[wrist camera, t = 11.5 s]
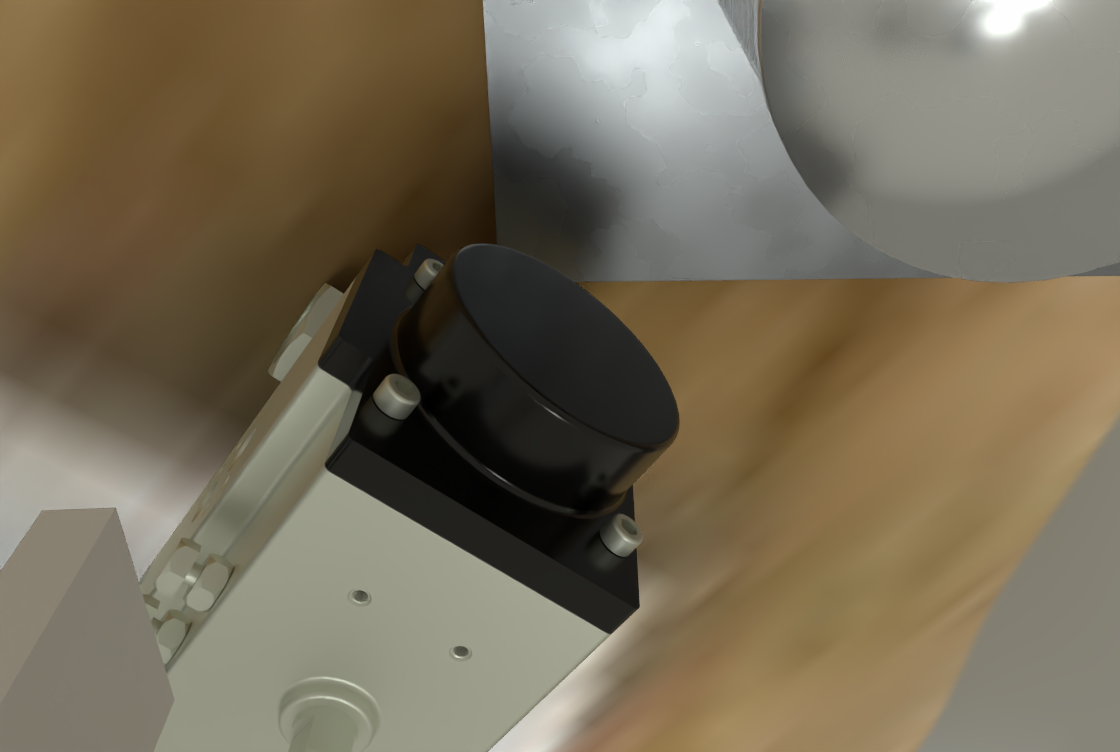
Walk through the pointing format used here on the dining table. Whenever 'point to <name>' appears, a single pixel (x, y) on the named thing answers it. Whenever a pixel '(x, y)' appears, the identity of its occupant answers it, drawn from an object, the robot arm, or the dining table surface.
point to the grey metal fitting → (951, 125)
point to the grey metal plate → (651, 151)
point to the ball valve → (414, 516)
